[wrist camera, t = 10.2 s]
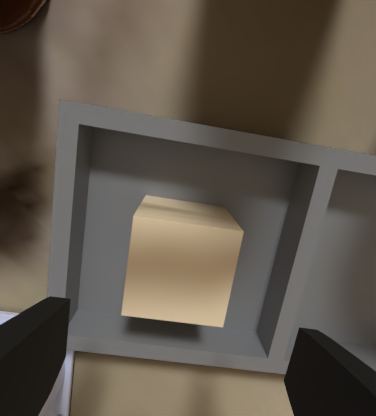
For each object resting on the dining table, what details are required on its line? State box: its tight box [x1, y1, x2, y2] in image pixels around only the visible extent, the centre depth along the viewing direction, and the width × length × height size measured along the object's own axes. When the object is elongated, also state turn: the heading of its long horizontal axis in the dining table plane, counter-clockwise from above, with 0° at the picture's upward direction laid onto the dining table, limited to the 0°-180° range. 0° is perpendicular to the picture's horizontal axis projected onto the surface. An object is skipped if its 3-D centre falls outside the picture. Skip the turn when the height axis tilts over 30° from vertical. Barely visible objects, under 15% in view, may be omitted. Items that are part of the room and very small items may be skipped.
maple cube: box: [121, 195, 244, 327], centre depth 15 cm, size 5×5×5 cm
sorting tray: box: [47, 99, 376, 374], centre depth 17 cm, size 14×28×3 cm, turn 80°
